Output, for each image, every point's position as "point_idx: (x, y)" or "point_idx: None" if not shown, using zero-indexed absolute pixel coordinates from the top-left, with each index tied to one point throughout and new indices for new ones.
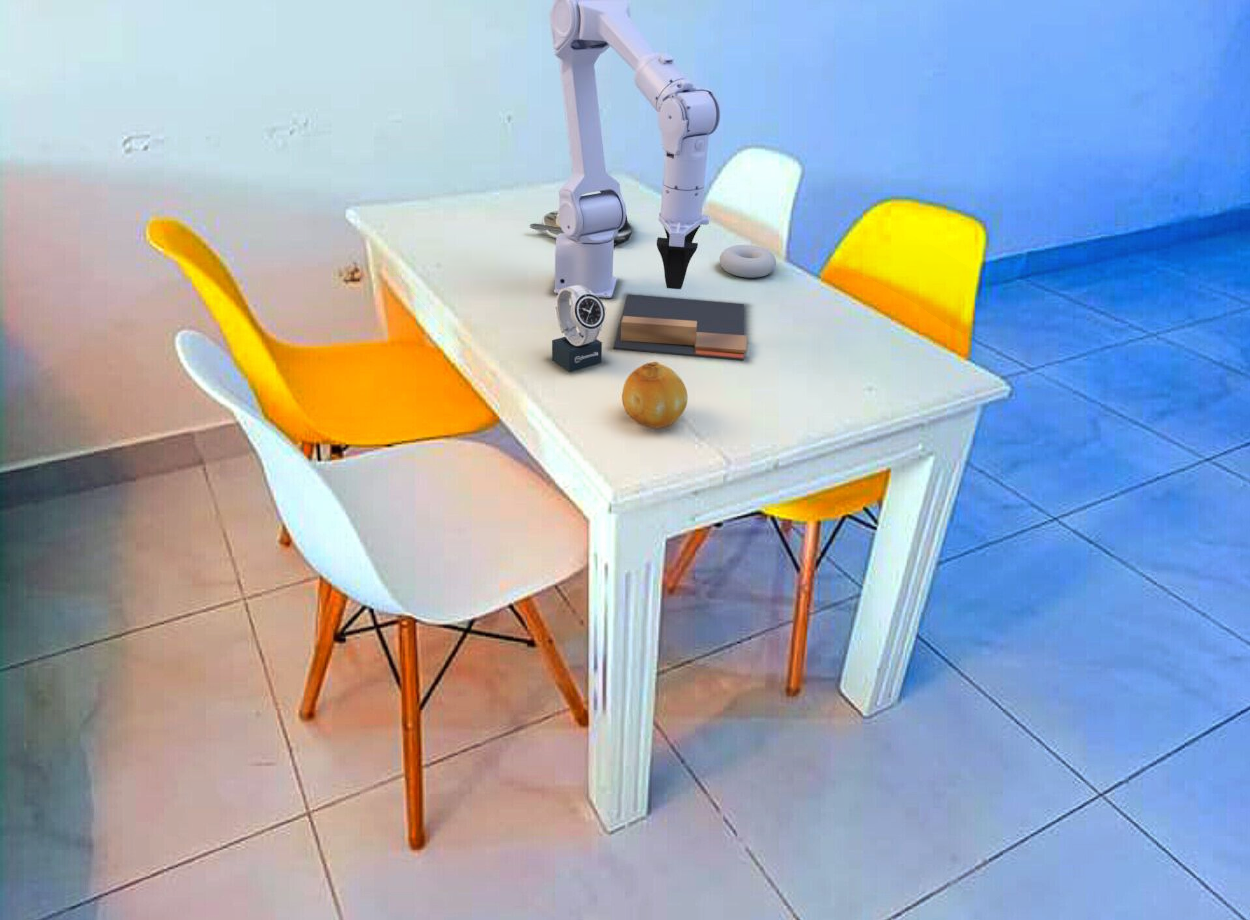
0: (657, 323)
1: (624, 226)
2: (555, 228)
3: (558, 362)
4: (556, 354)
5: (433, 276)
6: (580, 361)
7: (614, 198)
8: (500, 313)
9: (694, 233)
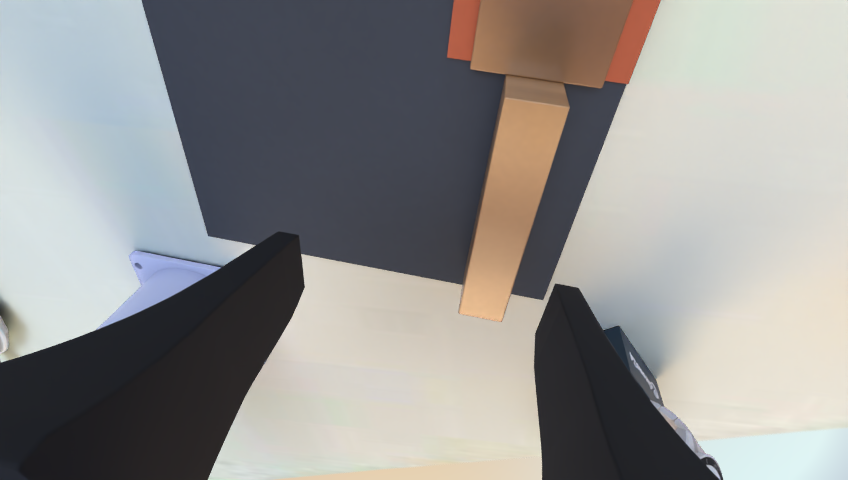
0: (520, 239)
1: None
2: None
3: None
4: None
5: (266, 471)
6: (648, 378)
7: None
8: (379, 429)
9: (137, 388)
